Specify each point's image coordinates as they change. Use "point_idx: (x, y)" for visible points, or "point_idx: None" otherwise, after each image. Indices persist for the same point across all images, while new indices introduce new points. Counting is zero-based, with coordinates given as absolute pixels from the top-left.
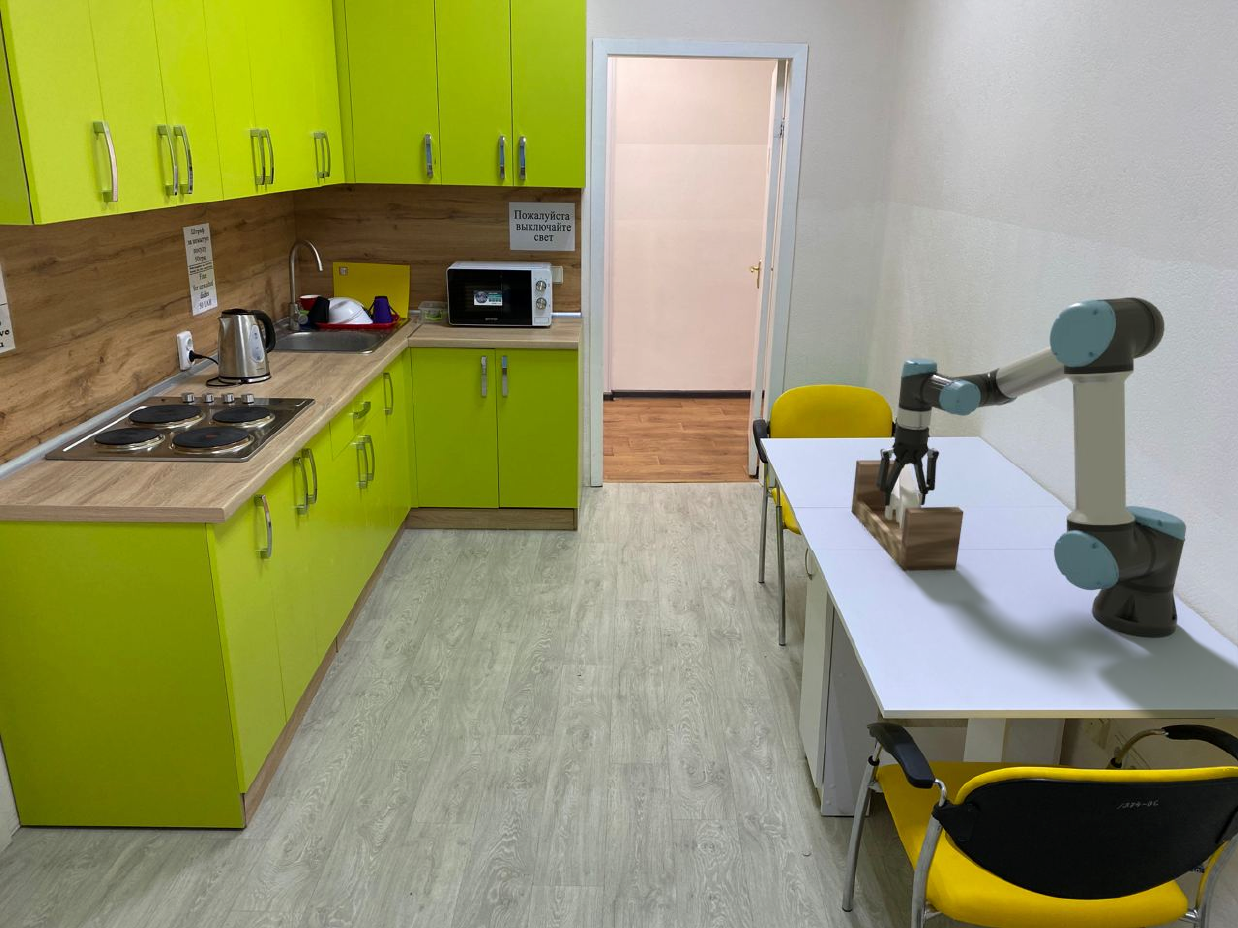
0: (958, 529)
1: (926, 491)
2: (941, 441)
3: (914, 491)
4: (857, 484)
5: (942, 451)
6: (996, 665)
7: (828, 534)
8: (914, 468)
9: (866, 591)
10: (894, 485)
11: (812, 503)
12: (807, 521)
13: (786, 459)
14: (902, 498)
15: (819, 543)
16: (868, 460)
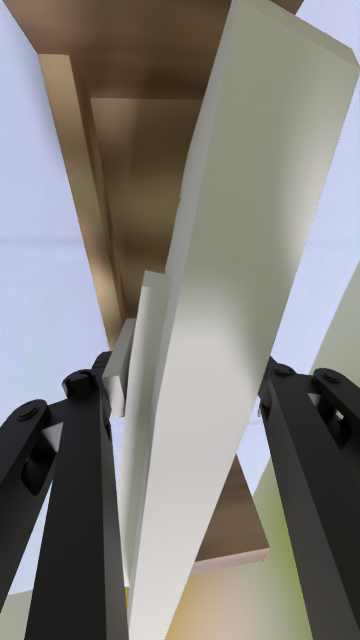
0: None
1: (74, 384)
2: (31, 586)
3: (185, 310)
4: (239, 467)
5: (32, 571)
6: None
7: (303, 322)
8: (127, 624)
9: None
10: (279, 401)
11: (261, 433)
12: (306, 374)
13: None
14: (317, 202)
15: (346, 277)
16: (228, 567)
